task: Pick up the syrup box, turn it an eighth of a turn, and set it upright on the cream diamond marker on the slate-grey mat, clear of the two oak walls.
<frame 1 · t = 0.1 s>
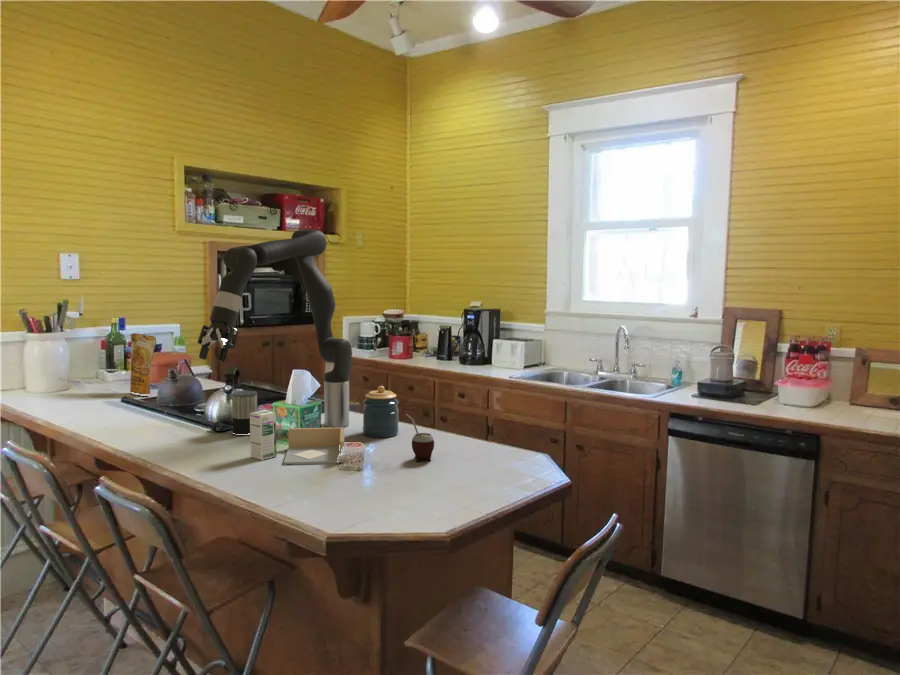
hand: (211, 360, 193), 31 cm above the worktop, tool tilted 20°, fingers open, 8 cm apart
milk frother: (235, 432, 232), on the worktop
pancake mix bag: (142, 395, 297), on the worktop
canister: (380, 434, 233), on the worktop
corner arena: (315, 455, 204), on the worktop
mate gourd: (421, 460, 202), on the worktop
syrup box: (263, 457, 202), on the worktop
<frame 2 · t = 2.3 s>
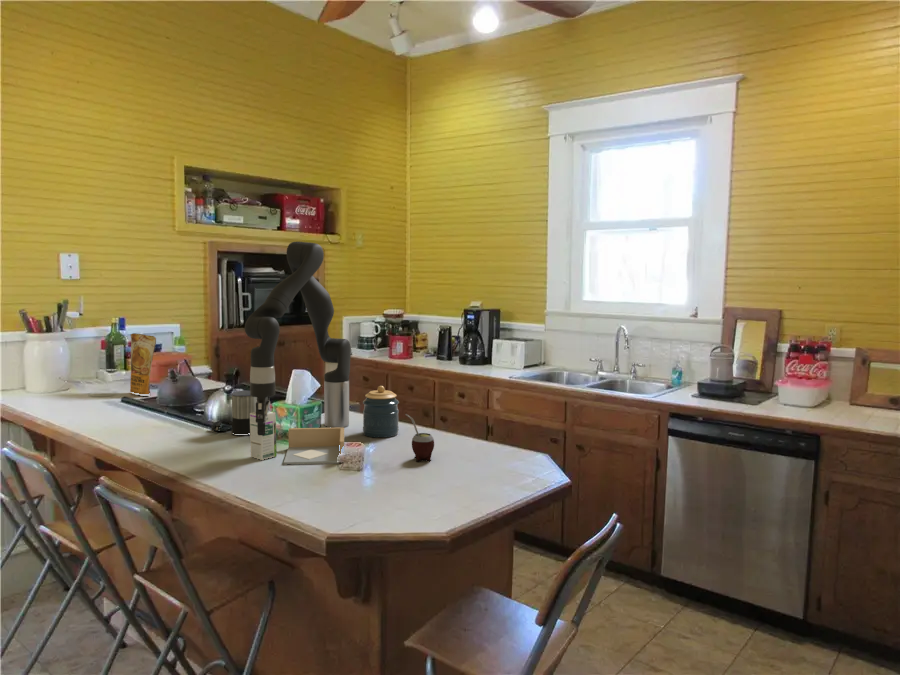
hand: (263, 431, 201), 8 cm above the worktop, tool pointing down, fingers open, 8 cm apart
syrup box: (263, 457, 202), on the worktop, touching gripper
everything else where it was.
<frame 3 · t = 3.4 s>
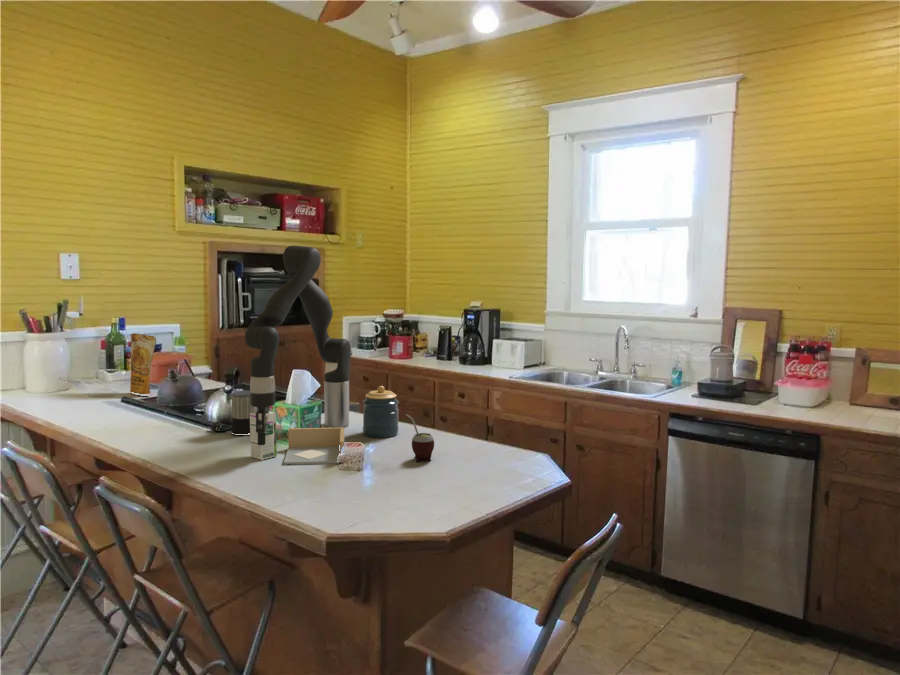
hand: (263, 441, 201), 5 cm above the worktop, tool pointing down, fingers closed on syrup box, 8 cm apart
syrup box: (263, 457, 202), on the worktop, touching gripper
everything else where it was.
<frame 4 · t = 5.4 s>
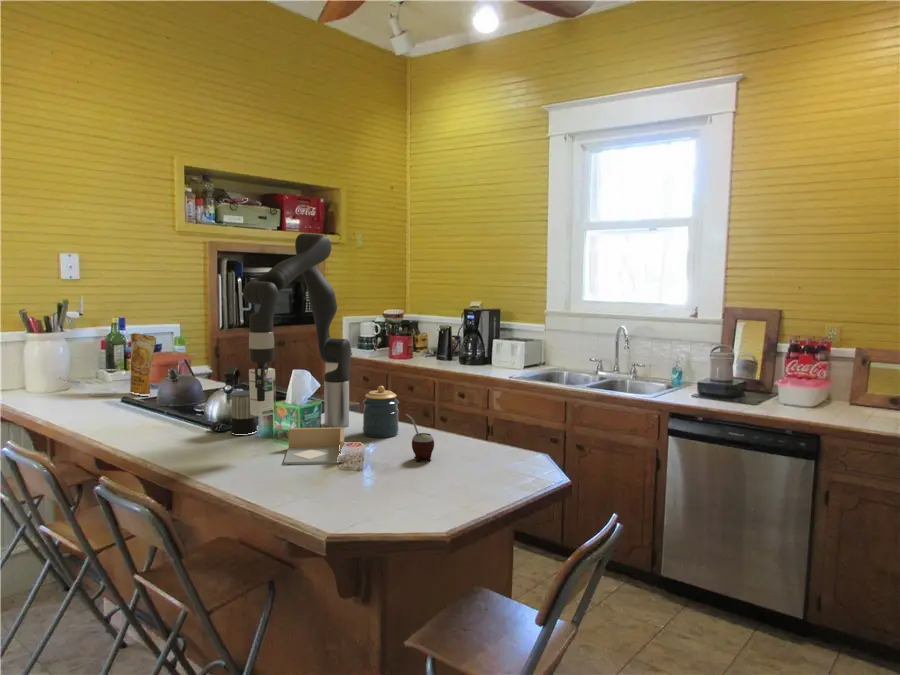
hand: (262, 398, 200), 19 cm above the worktop, tool pointing down, fingers closed on syrup box, 8 cm apart
syrup box: (263, 414, 201), point 13 cm above the worktop, touching gripper
everything else where it was.
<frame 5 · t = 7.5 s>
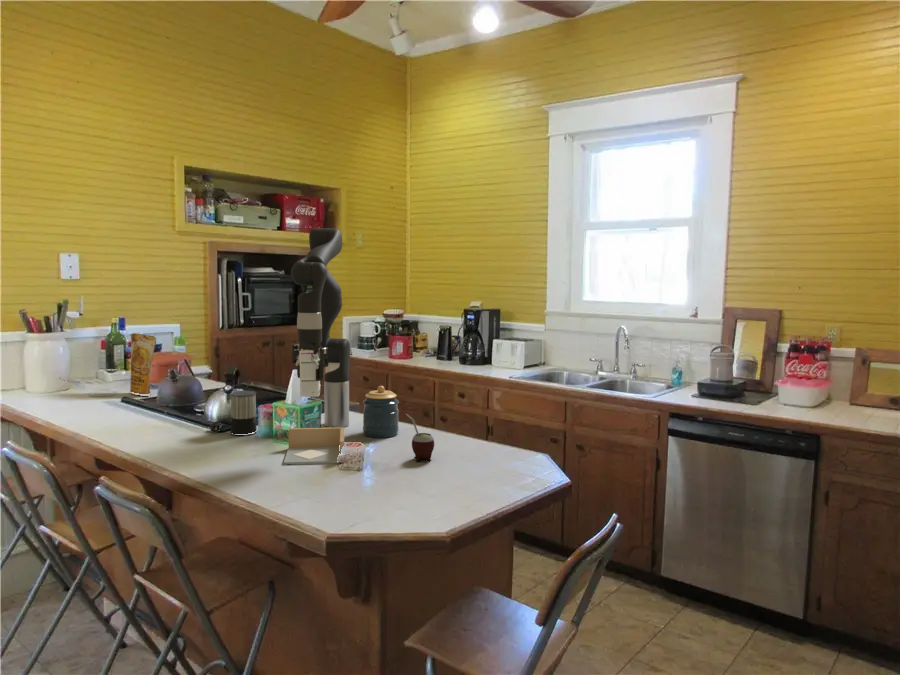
hand: (310, 379, 200), 25 cm above the worktop, tool pointing down, fingers closed on syrup box, 8 cm apart
syrup box: (310, 395, 201), point 20 cm above the worktop, touching gripper
everything else where it was.
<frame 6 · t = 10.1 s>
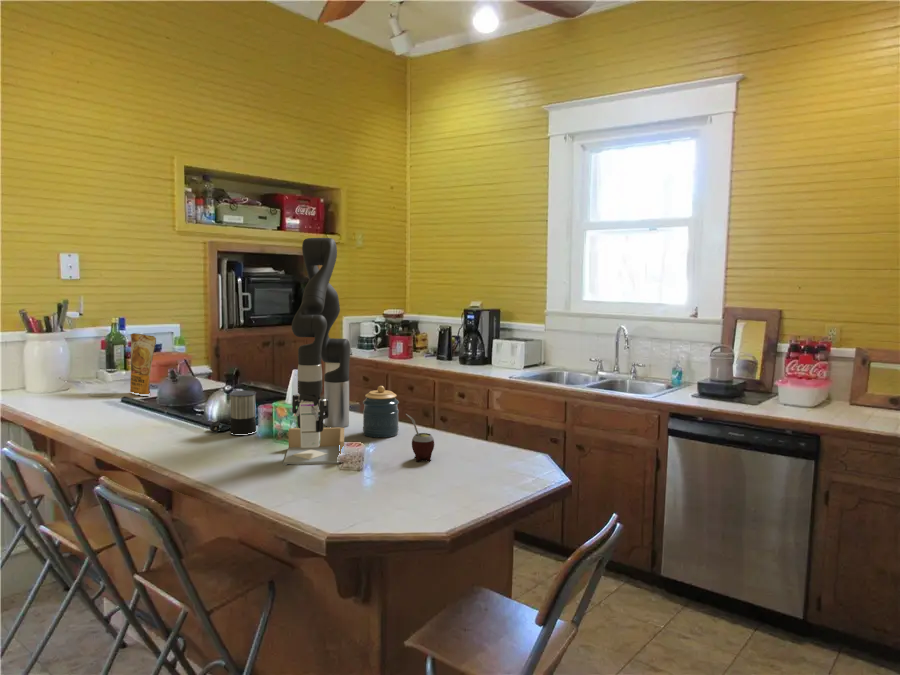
hand: (310, 429, 202), 9 cm above the worktop, tool pointing down, fingers closed on syrup box, 8 cm apart
syrup box: (310, 446, 202), point 4 cm above the worktop, touching gripper
everything else where it was.
when the fingers open (7 cm above the worktop, at t = 11.7 s): syrup box drops 1 cm, resting on corner arena.
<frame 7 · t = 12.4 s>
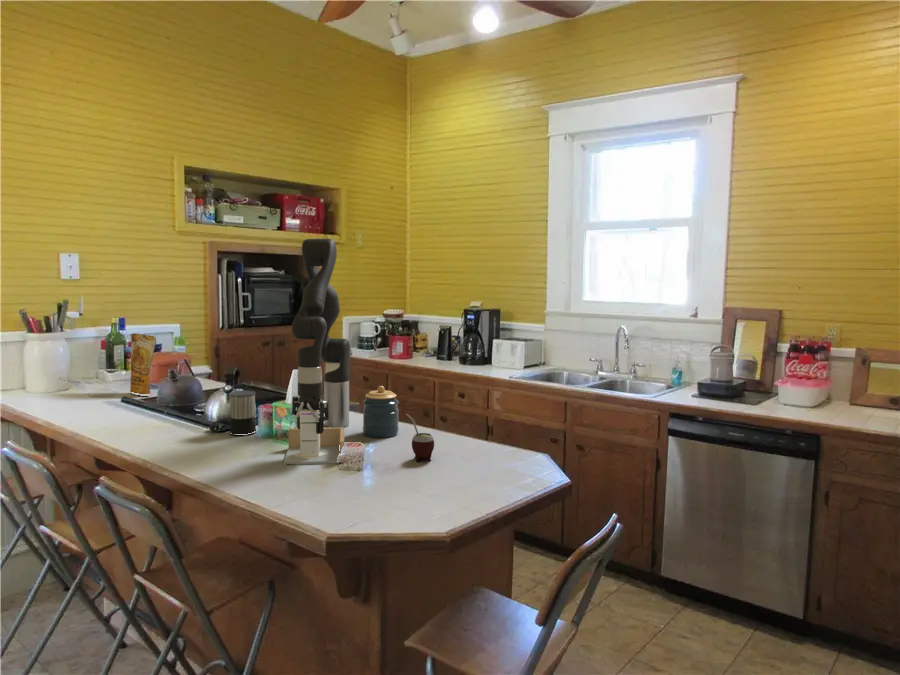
hand: (310, 431, 202), 8 cm above the worktop, tool pointing down, fingers open, 8 cm apart
syrup box: (310, 454, 203), point 1 cm above the worktop, touching corner arena, gripper
everything else where it was.
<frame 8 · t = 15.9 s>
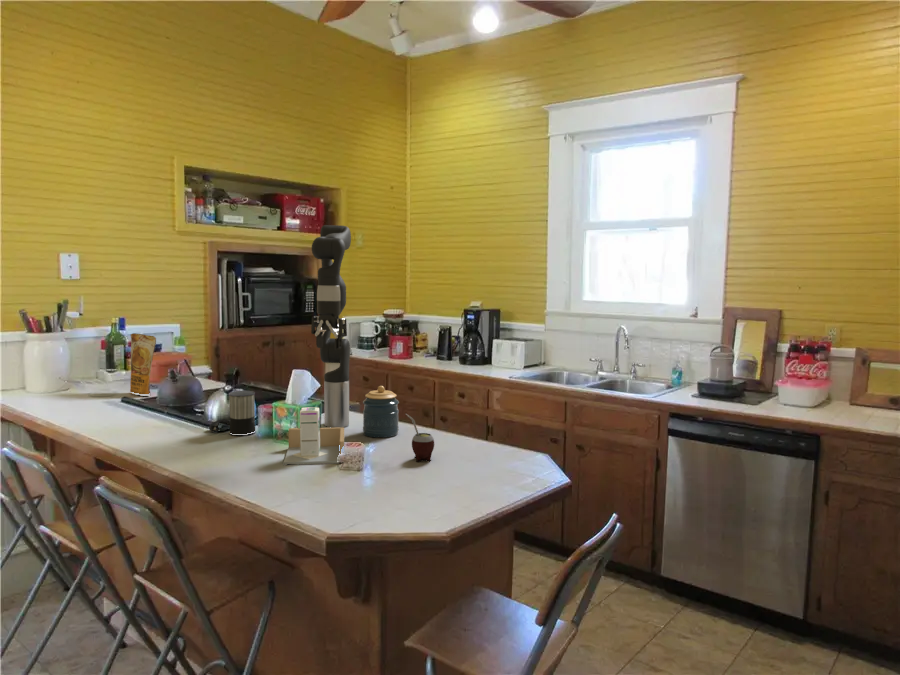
hand: (328, 348, 212), 33 cm above the worktop, tool pointing down, fingers open, 8 cm apart
syrup box: (310, 454, 203), point 1 cm above the worktop, touching corner arena
everything else where it was.
at the end: syrup box 0.2 cm from the target spot on the corner arena, point 0.8 cm above the corner arena's base; syrup box tilted 0°; the gripper is holding nothing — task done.
